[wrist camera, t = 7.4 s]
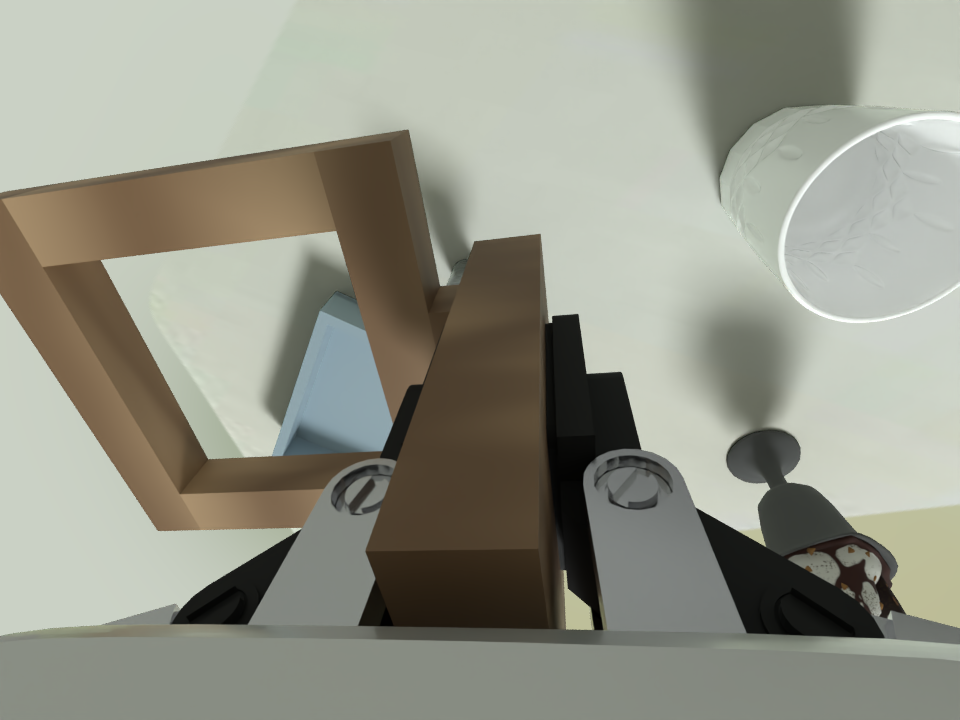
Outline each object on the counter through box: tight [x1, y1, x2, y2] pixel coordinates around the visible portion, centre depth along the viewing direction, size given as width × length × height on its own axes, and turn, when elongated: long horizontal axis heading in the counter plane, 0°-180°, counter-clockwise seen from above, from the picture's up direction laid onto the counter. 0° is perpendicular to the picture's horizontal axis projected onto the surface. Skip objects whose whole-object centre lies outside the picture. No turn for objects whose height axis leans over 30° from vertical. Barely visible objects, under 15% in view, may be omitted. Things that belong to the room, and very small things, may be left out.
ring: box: [0, 130, 566, 630], centre depth 10 cm, size 12×10×8 cm
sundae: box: [727, 430, 906, 619], centre depth 31 cm, size 7×7×15 cm
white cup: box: [719, 105, 960, 323], centre depth 23 cm, size 8×8×10 cm
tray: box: [272, 291, 393, 456], centre depth 37 cm, size 14×16×3 cm
